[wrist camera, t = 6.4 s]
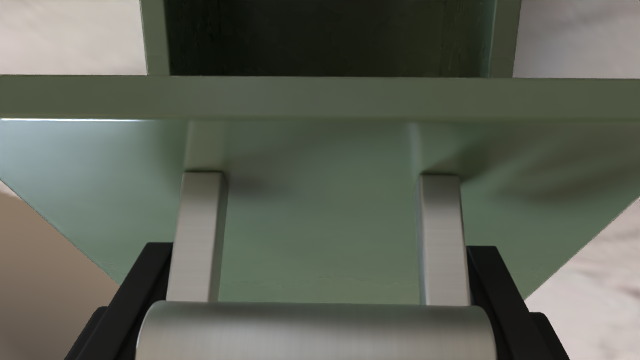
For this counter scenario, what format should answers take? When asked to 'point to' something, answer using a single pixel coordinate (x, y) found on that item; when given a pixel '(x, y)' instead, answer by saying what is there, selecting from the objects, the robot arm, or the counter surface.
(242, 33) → the bin
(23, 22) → the counter surface
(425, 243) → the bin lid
